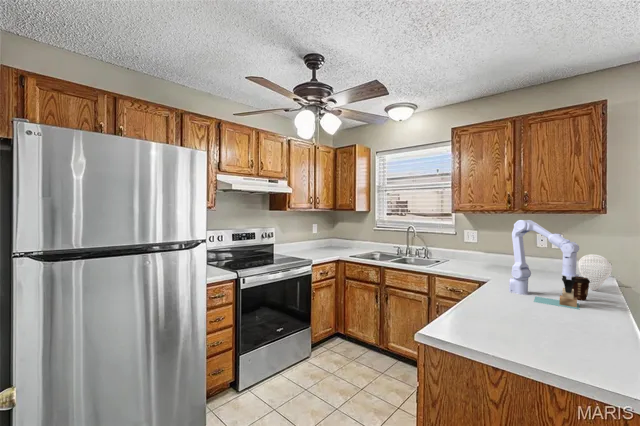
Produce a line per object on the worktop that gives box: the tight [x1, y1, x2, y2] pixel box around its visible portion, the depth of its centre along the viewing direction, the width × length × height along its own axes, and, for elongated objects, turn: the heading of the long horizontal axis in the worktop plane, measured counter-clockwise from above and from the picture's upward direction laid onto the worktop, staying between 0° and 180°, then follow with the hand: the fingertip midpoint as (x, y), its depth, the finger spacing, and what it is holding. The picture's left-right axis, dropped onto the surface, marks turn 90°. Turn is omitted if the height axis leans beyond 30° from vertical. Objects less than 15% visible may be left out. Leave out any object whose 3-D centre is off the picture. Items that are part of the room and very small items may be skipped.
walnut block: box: [559, 295, 578, 307], centre depth 163 cm, size 7×7×4 cm
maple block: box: [562, 287, 574, 299], centre depth 163 cm, size 4×4×4 cm
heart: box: [578, 253, 613, 291], centre depth 198 cm, size 28×16×22 cm, turn 140°
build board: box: [533, 296, 580, 310], centre depth 166 cm, size 19×14×1 cm
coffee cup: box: [572, 275, 591, 302], centre depth 174 cm, size 9×8×13 cm
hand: (568, 291), depth 163 cm, fingers open, 7 cm apart
